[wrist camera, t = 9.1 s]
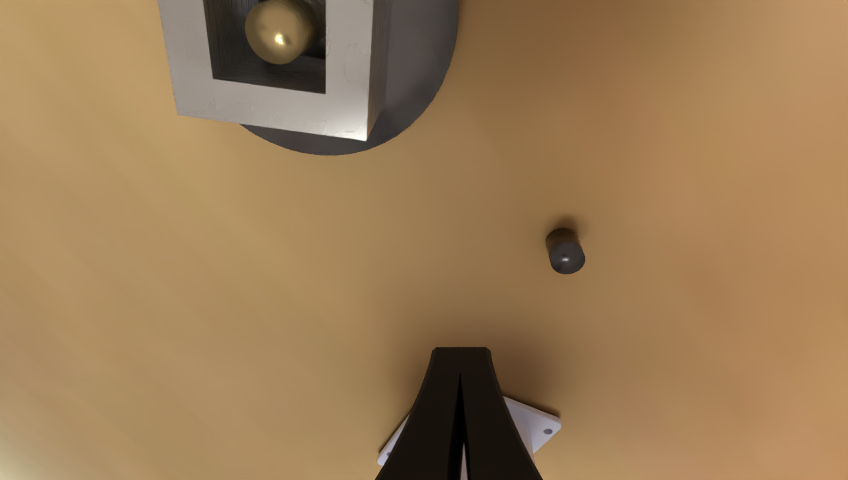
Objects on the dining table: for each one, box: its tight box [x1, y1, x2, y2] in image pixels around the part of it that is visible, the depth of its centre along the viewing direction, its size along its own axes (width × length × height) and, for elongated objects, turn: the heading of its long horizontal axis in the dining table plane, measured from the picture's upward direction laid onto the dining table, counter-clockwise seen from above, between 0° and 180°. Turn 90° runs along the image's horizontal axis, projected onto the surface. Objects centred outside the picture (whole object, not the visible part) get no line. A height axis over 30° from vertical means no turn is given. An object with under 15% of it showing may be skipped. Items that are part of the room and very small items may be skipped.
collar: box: [158, 0, 392, 141], centre depth 14 cm, size 6×6×4 cm
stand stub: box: [546, 228, 585, 274], centre depth 20 cm, size 1×1×2 cm
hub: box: [239, 0, 458, 155], centre depth 15 cm, size 10×10×4 cm
